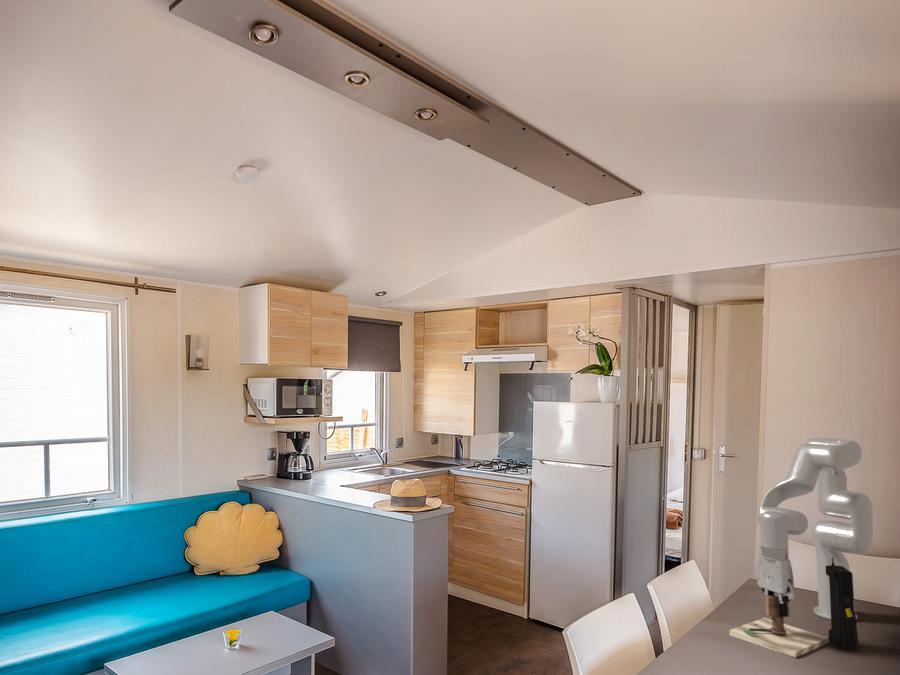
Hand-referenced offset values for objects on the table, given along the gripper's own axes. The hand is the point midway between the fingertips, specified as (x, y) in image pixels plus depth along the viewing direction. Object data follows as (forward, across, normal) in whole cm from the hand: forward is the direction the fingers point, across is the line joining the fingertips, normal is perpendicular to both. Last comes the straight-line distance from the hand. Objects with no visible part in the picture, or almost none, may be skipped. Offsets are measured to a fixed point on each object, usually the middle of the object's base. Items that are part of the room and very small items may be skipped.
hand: (777, 613), depth 190 cm
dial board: (+8, 0, 0) cm, 8 cm away
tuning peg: (+6, -1, -2) cm, 6 cm away
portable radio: (+8, +11, +14) cm, 20 cm away
